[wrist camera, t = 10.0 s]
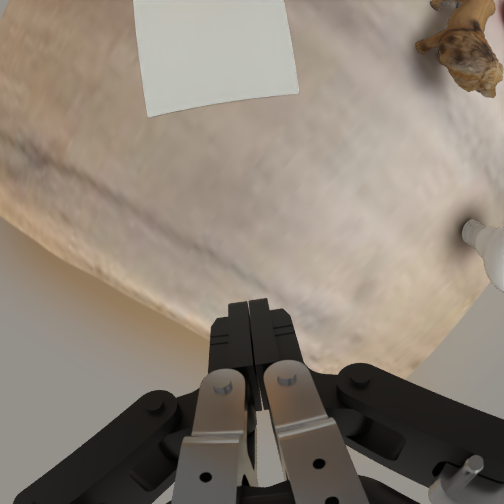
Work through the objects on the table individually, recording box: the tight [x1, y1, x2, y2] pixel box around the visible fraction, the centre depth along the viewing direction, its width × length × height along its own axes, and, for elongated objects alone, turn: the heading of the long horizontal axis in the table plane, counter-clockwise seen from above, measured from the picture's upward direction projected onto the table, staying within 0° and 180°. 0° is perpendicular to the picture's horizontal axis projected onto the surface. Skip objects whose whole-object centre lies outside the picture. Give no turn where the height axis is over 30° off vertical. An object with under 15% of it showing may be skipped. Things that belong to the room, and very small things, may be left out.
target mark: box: [133, 0, 299, 118], centre depth 20 cm, size 12×12×1 cm
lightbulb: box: [462, 219, 504, 292], centre depth 23 cm, size 6×6×11 cm
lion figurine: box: [416, 0, 503, 98], centre depth 15 cm, size 15×5×9 cm, turn 163°
